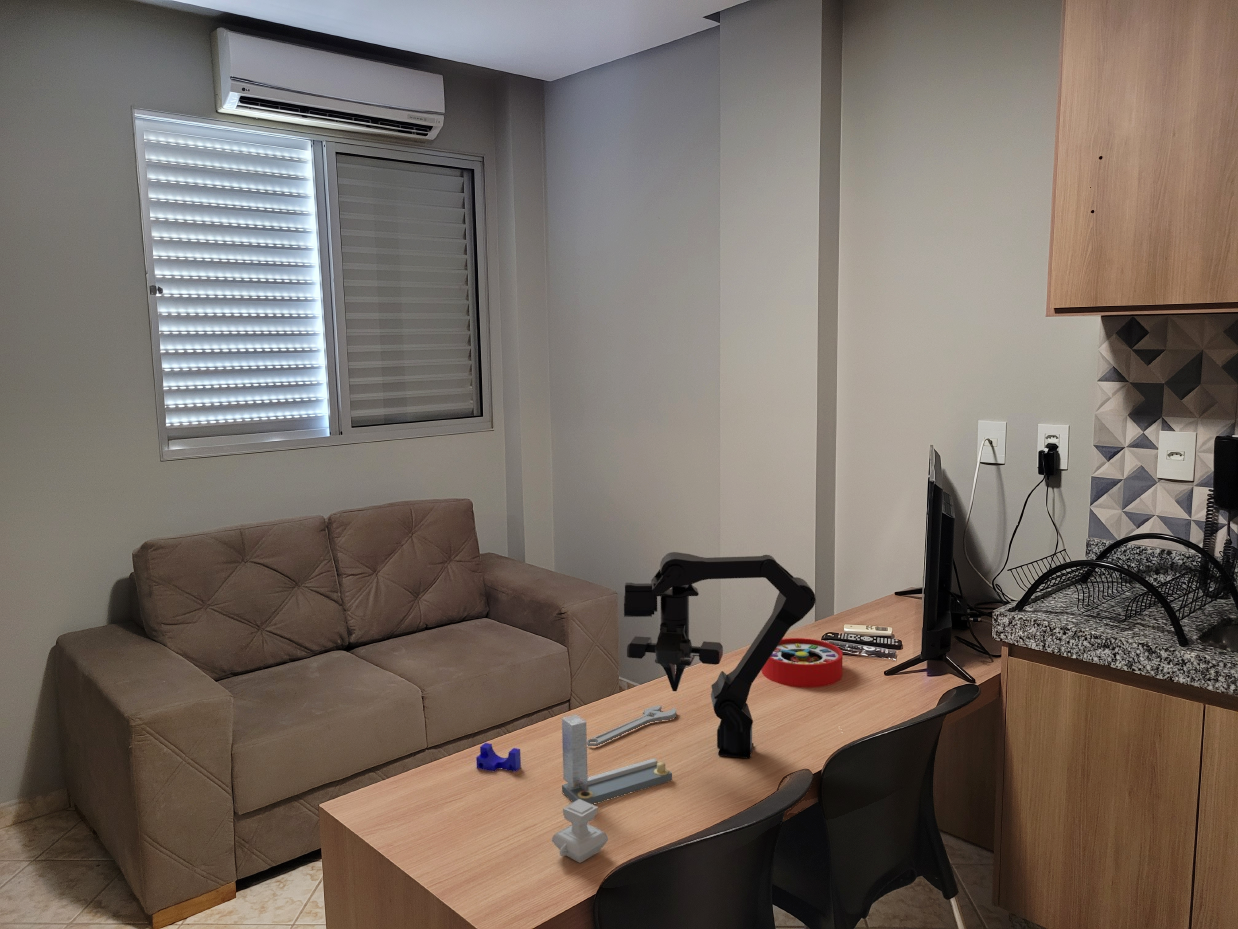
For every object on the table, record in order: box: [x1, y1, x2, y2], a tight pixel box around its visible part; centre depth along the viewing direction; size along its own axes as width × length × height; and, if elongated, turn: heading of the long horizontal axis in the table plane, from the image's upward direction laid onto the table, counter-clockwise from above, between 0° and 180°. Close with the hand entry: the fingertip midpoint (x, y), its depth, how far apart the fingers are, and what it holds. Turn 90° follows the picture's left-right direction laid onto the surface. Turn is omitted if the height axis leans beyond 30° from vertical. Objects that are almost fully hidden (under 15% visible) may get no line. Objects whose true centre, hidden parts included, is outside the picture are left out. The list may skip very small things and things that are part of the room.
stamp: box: [551, 799, 609, 864], centre depth 146 cm, size 9×7×8 cm
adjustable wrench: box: [587, 705, 677, 746], centre depth 195 cm, size 25×6×2 cm, turn 130°
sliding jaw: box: [561, 713, 589, 793], centre depth 164 cm, size 3×6×13 cm, turn 30°
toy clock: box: [760, 637, 844, 688], centre depth 225 cm, size 20×6×20 cm
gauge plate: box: [561, 757, 673, 805], centre depth 169 cm, size 20×7×3 cm, turn 120°
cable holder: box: [475, 742, 522, 772], centre depth 177 cm, size 8×4×4 cm, turn 67°
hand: (675, 690), depth 181 cm, fingers closed
